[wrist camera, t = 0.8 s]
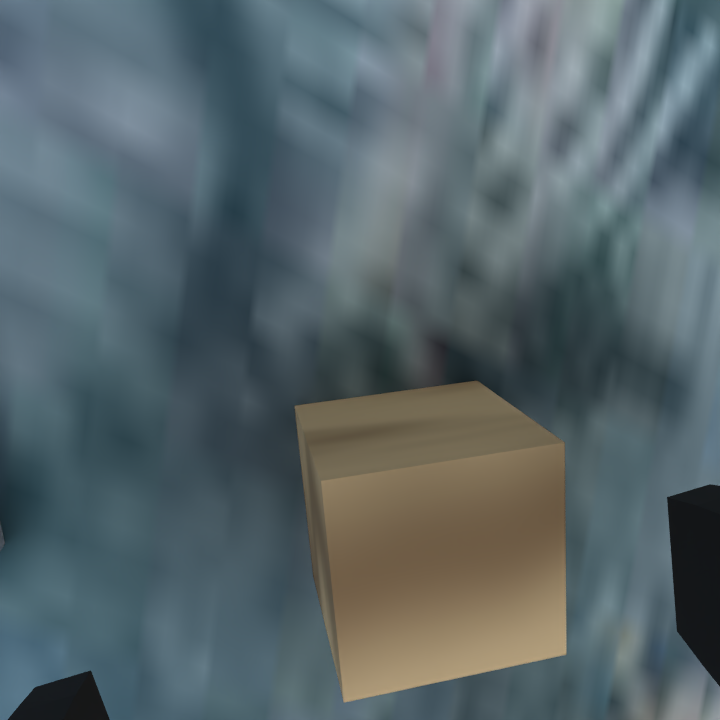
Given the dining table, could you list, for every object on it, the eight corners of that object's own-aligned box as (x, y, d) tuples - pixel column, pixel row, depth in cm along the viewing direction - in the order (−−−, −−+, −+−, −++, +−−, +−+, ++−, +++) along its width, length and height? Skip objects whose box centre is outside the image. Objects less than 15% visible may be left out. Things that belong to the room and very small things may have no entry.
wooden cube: (482, 544, 20) (566, 654, 15) (313, 574, 19) (344, 702, 14) (476, 379, 18) (564, 442, 14) (294, 404, 18) (321, 481, 13)
